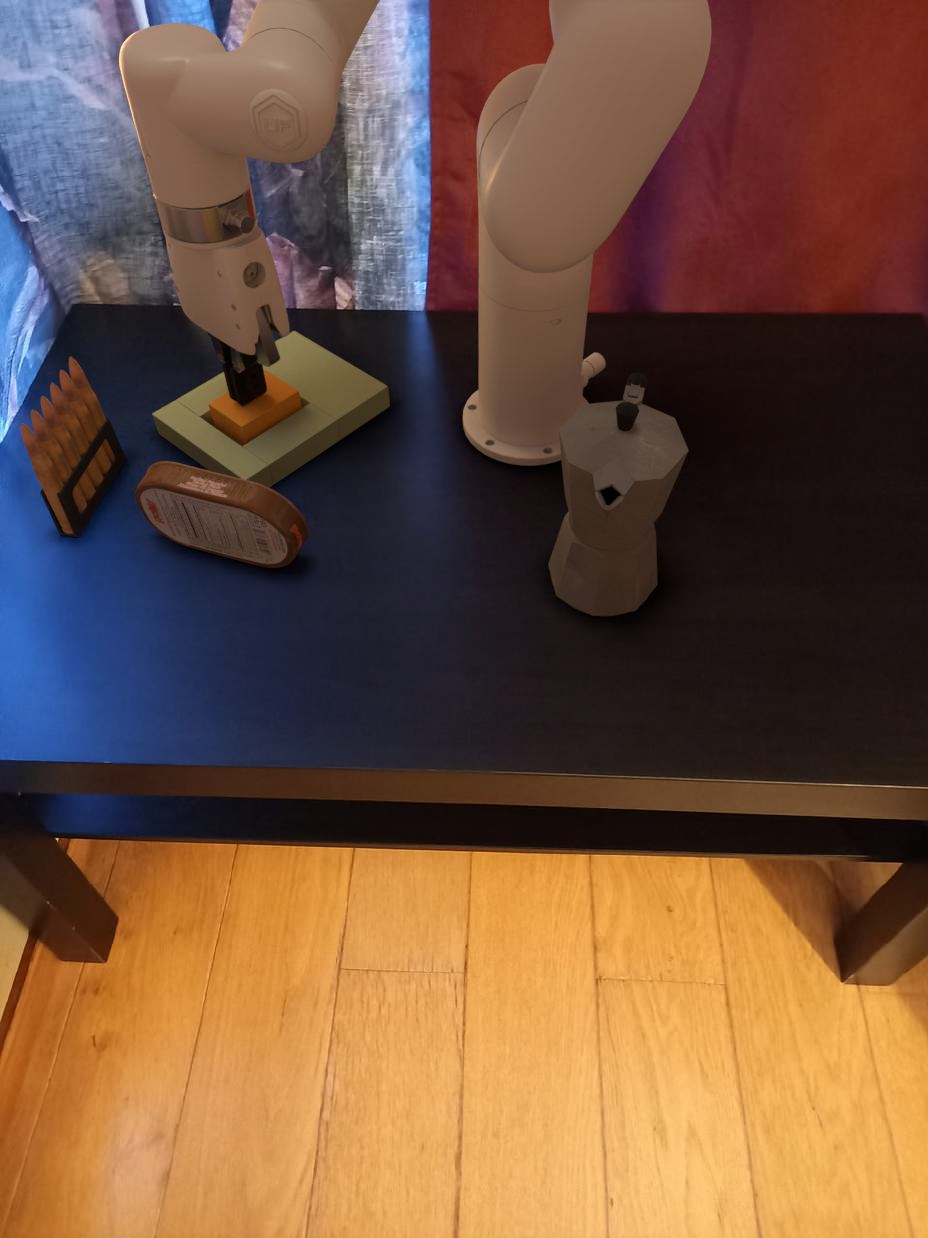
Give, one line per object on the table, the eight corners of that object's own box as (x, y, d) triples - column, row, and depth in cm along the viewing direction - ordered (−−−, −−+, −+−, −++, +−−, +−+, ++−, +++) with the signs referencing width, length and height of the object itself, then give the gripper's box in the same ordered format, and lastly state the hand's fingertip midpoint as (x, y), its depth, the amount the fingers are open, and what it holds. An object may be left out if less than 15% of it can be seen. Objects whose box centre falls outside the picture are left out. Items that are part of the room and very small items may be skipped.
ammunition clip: (78, 538, 83) (27, 432, 74) (59, 535, 83) (6, 430, 74) (126, 457, 90) (85, 351, 80) (108, 455, 90) (65, 349, 81)
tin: (316, 557, 81) (302, 486, 75) (300, 584, 80) (284, 513, 73) (164, 518, 85) (137, 446, 78) (145, 543, 83) (116, 471, 76)
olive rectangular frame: (297, 350, 100) (294, 330, 98) (390, 406, 94) (388, 386, 92) (158, 433, 92) (151, 413, 90) (250, 500, 86) (244, 480, 84)
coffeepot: (646, 648, 75) (684, 480, 61) (530, 625, 76) (541, 457, 62) (670, 514, 84) (709, 342, 70) (567, 496, 86) (583, 325, 72)
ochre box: (249, 459, 89) (241, 426, 86) (217, 436, 91) (207, 403, 88) (305, 423, 93) (299, 390, 89) (272, 402, 95) (265, 369, 92)
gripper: (305, 222, 73) (332, 410, 87) (187, 160, 79) (230, 345, 94) (229, 261, 70) (270, 450, 84) (112, 193, 76) (168, 380, 90)
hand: (249, 395), depth 89 cm, fingers closed
